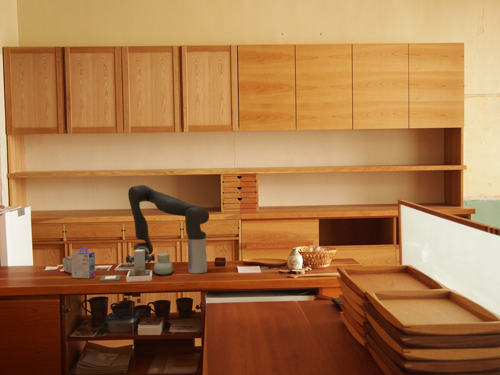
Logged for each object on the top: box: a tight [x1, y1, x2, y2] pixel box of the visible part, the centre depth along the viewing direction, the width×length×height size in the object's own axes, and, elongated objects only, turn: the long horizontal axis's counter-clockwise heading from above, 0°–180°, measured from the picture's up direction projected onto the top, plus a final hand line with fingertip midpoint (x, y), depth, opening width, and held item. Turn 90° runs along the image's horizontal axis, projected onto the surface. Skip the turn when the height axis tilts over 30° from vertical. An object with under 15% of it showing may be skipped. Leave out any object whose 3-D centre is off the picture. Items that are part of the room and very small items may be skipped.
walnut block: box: [134, 268, 144, 276], centre depth 220 cm, size 4×4×5 cm
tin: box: [61, 255, 72, 275], centre depth 235 cm, size 15×3×8 cm, turn 47°
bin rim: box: [125, 269, 153, 283], centre depth 224 cm, size 12×13×2 cm
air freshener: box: [153, 252, 174, 276], centre depth 231 cm, size 11×8×10 cm
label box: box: [133, 249, 147, 276], centre depth 226 cm, size 5×5×13 cm
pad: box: [99, 274, 122, 282], centre depth 223 cm, size 9×9×1 cm
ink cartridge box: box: [71, 246, 96, 279], centre depth 226 cm, size 10×6×14 cm, turn 78°
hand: (139, 261), depth 226 cm, fingers open, 8 cm apart
